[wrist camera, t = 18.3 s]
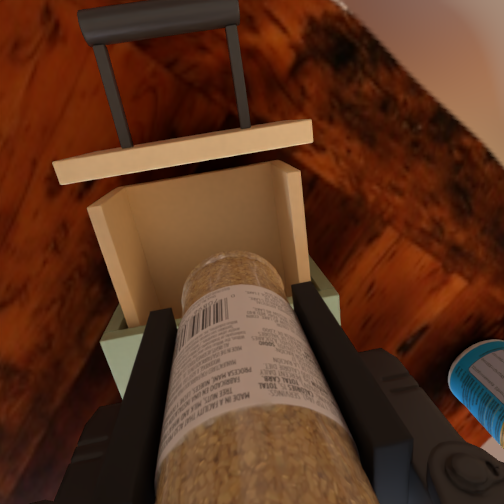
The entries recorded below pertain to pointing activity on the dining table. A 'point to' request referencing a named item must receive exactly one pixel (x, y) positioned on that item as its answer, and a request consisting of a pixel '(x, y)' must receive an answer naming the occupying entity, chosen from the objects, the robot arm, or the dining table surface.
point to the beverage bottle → (481, 384)
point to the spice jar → (250, 399)
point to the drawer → (190, 186)
